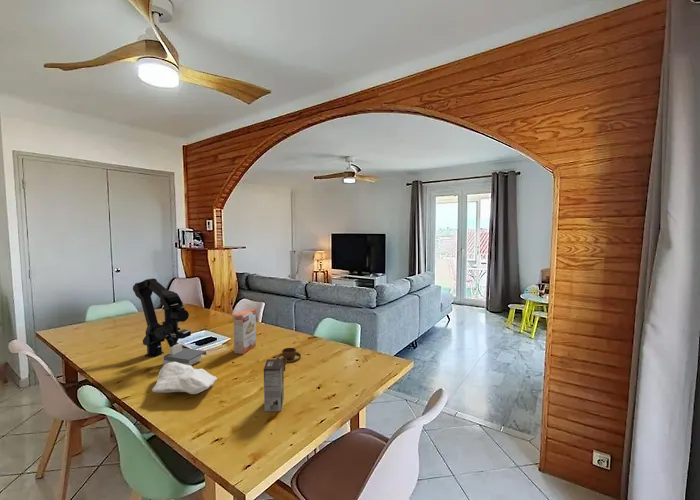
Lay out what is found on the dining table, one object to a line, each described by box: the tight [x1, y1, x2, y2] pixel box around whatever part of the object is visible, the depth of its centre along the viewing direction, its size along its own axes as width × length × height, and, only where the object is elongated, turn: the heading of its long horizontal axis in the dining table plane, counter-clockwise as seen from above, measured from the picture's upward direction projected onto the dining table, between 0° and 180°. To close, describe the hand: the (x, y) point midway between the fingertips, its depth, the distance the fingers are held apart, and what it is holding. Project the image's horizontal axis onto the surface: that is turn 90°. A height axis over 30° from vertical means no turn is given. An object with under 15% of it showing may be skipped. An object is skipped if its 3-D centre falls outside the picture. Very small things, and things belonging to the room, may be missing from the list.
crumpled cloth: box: [151, 362, 218, 395], centre depth 141 cm, size 24×35×9 cm
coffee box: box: [263, 358, 285, 412], centre depth 128 cm, size 9×6×16 cm
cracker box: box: [233, 308, 257, 355], centre depth 184 cm, size 14×6×21 cm, turn 168°
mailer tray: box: [162, 355, 202, 366], centre depth 168 cm, size 14×10×4 cm
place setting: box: [272, 347, 302, 372], centre depth 170 cm, size 18×20×6 cm
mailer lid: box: [163, 342, 207, 364], centre depth 167 cm, size 15×12×6 cm
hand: (172, 349), depth 170 cm, fingers closed
